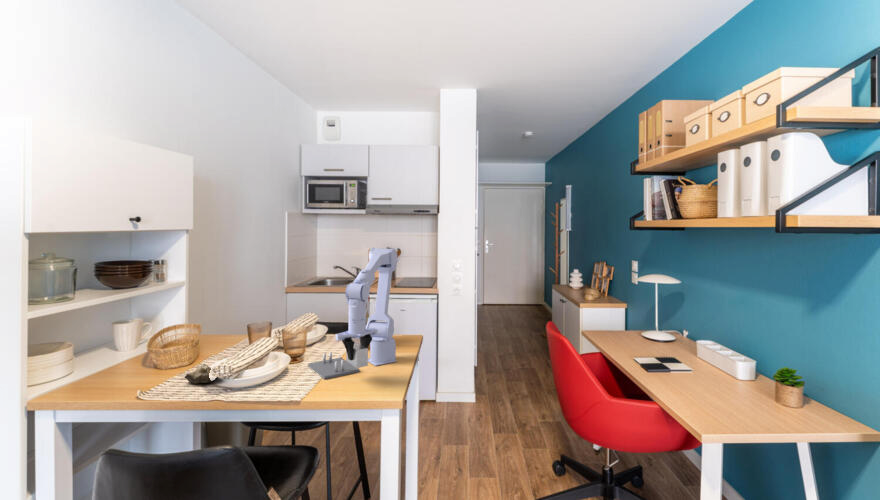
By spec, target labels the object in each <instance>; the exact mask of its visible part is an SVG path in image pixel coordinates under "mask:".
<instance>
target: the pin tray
mask: <svg viewBox="0 0 880 500" xmlns="http://www.w3.org/2000/svg"><path fill="white" fill-rule="evenodd" d="M307 367H308V368H310V369H311V370H312V371H313V370H314V371H313V372H314V373H316V372H317V373H318V374H319V375H321V376H322V377H321V376H320V377H321V378H322V379H323V380H325V381H326V380H328V379H333V378H338V377H343V376H347V375H352V374H355V373H360V368H356V367H354V366H353V365H351V364H350V363H348V362H347V361H346V359H345V358H343V357H336V358H333V352H332V351H329V353H328V359H327V353H325V352H324V353H323V354H322V360H321V361H314V362H309V363H307ZM317 373H316V374H317ZM318 374H317V375H318ZM319 375H318V376H319Z"/></svg>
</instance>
